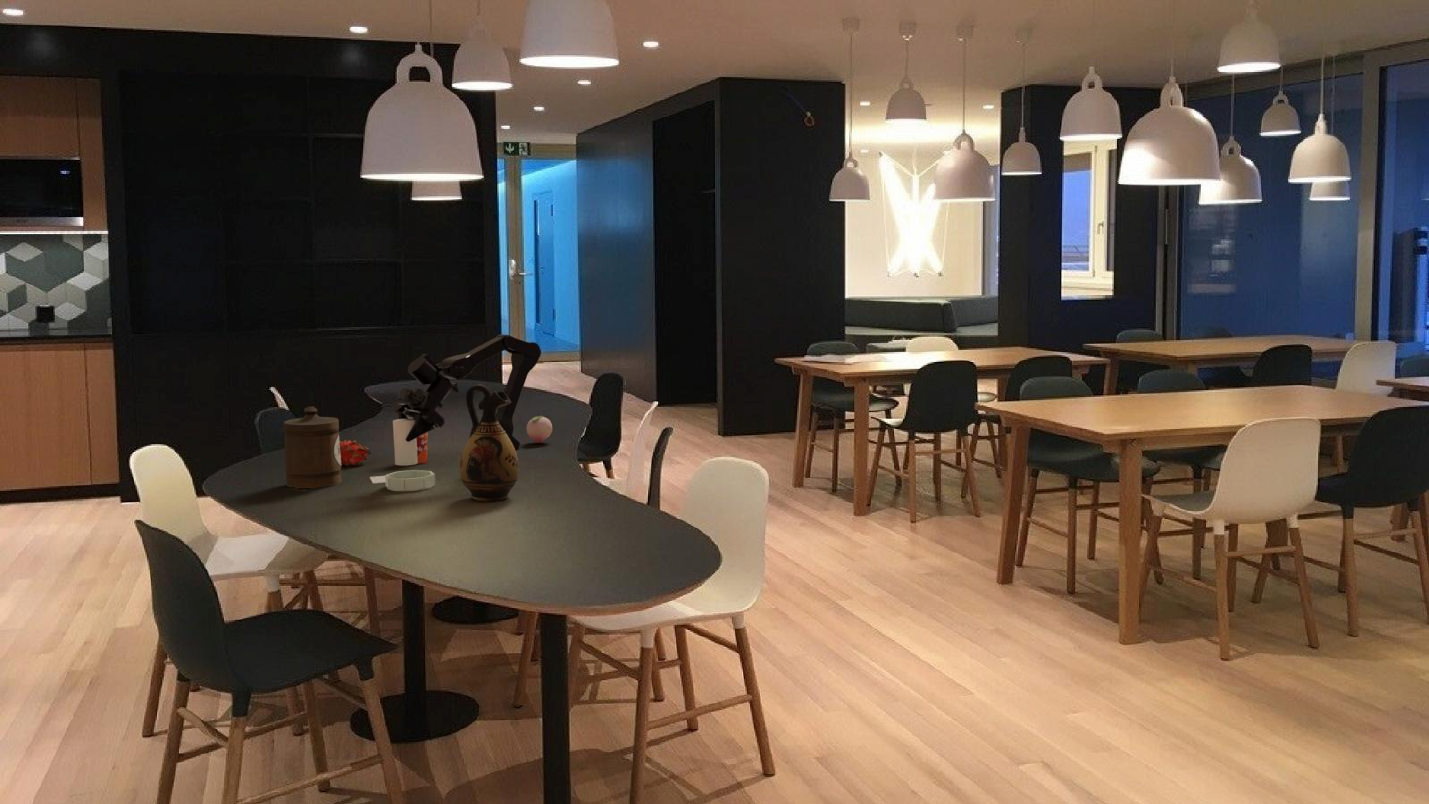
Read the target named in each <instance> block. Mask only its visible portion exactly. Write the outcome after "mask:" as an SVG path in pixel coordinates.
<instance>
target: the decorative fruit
mask: <svg viewBox="0 0 1429 804" xmlns="http://www.w3.org/2000/svg"><path fill="white" fill-rule="evenodd" d="M526 432H527V435H528V437H529V438H530V439H531V440H533V442H535V443H536V444H540V443H542V442H543V441H544V440H545V441H546V439H548V437H550V436H551V434H552V433H553V425H552V422H551V420H550V419H549V418H547V417H544V416H543V415H540V414H539V413H537V415H536V416H535V417H533V418H531V419H530V420H529V421H528V423H527V424H526Z"/></svg>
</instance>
